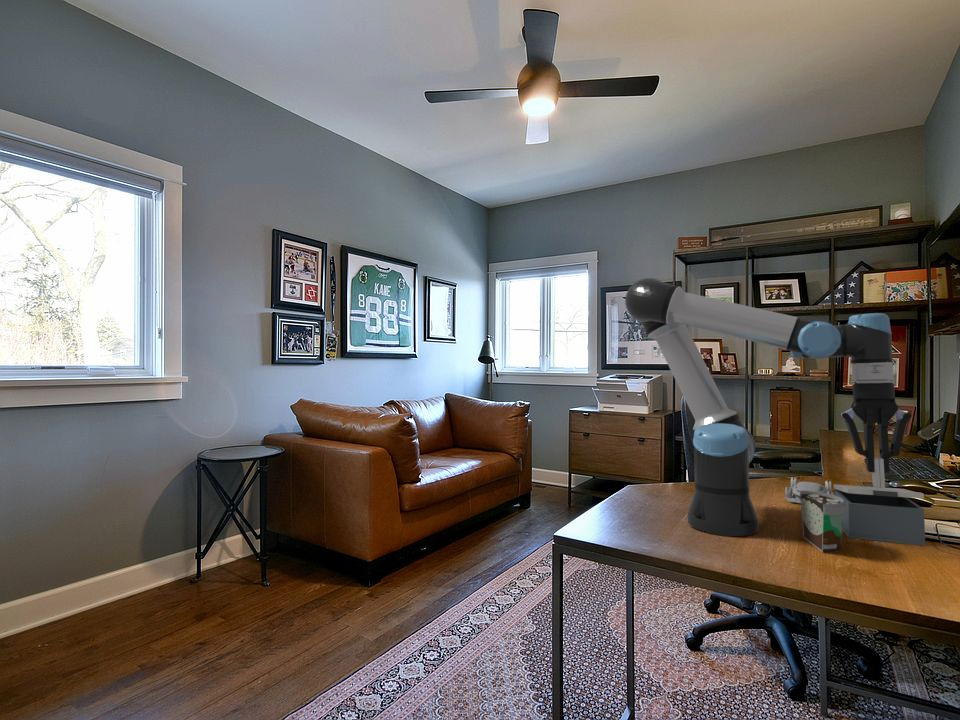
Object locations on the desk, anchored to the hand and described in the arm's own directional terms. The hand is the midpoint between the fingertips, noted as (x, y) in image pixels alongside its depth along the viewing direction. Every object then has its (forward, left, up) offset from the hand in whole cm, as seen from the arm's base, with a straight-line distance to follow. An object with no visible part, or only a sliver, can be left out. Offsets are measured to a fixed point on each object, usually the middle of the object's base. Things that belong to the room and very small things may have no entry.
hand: (878, 486), depth 115 cm
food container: (-12, -14, -10) cm, 21 cm away
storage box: (-1, 0, -10) cm, 10 cm away
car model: (-9, +30, -11) cm, 33 cm away
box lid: (-1, -1, -1) cm, 2 cm away
